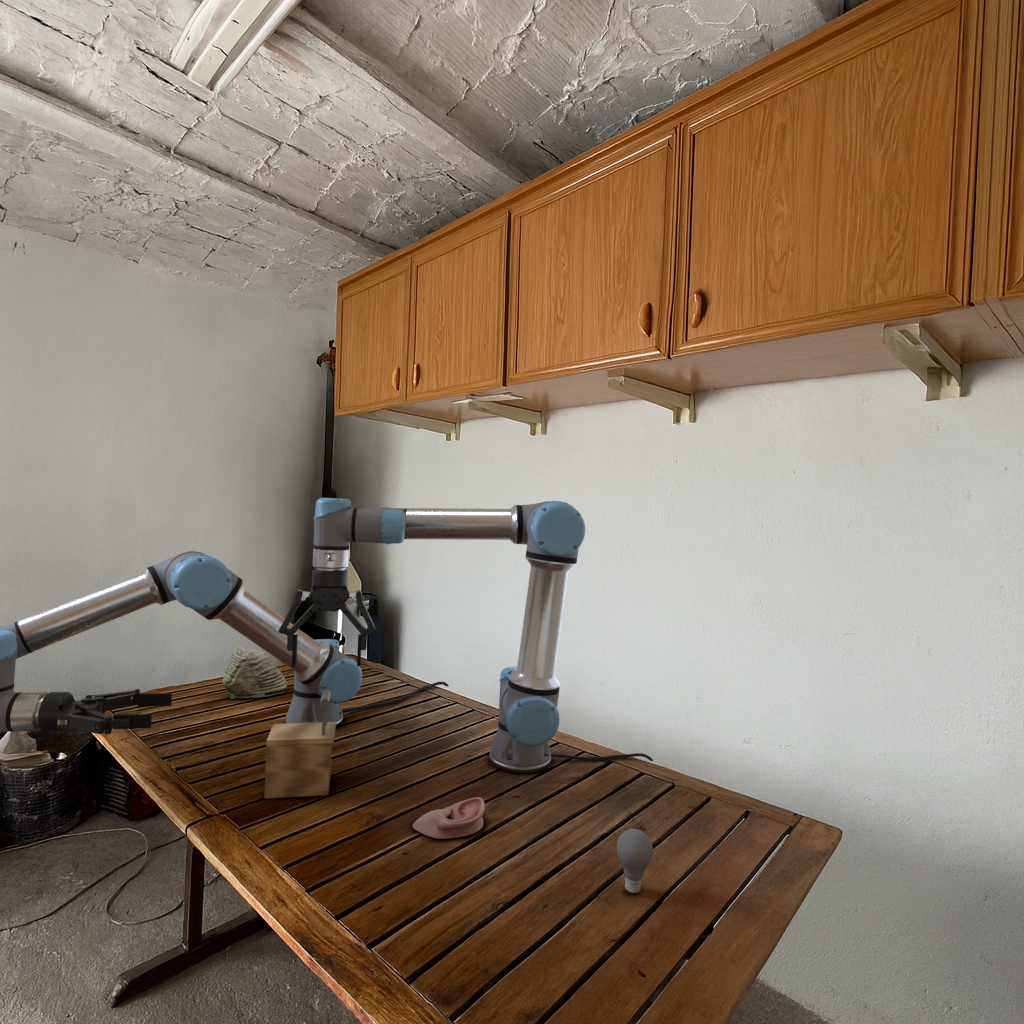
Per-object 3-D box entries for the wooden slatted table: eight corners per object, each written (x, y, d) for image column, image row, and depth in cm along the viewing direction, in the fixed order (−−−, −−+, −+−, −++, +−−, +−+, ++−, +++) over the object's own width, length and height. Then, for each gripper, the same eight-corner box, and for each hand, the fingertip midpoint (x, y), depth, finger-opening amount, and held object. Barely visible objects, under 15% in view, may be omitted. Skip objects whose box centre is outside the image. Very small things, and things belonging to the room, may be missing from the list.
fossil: (218, 695, 195) (220, 647, 195) (278, 685, 208) (279, 640, 207) (228, 703, 189) (230, 653, 188) (289, 692, 201) (290, 645, 201)
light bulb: (610, 879, 108) (613, 822, 108) (644, 879, 109) (647, 822, 109) (619, 902, 102) (622, 840, 102) (655, 901, 103) (658, 840, 103)
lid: (335, 726, 144) (337, 687, 144) (333, 743, 135) (335, 700, 135) (273, 729, 141) (274, 688, 141) (266, 745, 132) (268, 702, 132)
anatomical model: (407, 813, 120) (427, 787, 131) (406, 834, 120) (426, 806, 131) (475, 823, 117) (489, 796, 129) (474, 845, 117) (488, 815, 129)
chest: (330, 775, 144) (332, 727, 144) (328, 794, 135) (330, 743, 135) (271, 778, 141) (273, 729, 141) (264, 798, 132) (266, 746, 132)
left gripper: (72, 709, 139) (177, 708, 144) (10, 754, 115) (139, 750, 119) (73, 675, 139) (179, 675, 144) (12, 713, 115) (142, 711, 119)
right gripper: (267, 569, 132) (263, 670, 132) (389, 571, 137) (385, 668, 138) (272, 565, 139) (269, 661, 140) (388, 567, 145) (384, 660, 145)
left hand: (161, 709), depth 132 cm, fingers open, 13 cm apart
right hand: (326, 665), depth 139 cm, fingers open, 13 cm apart
